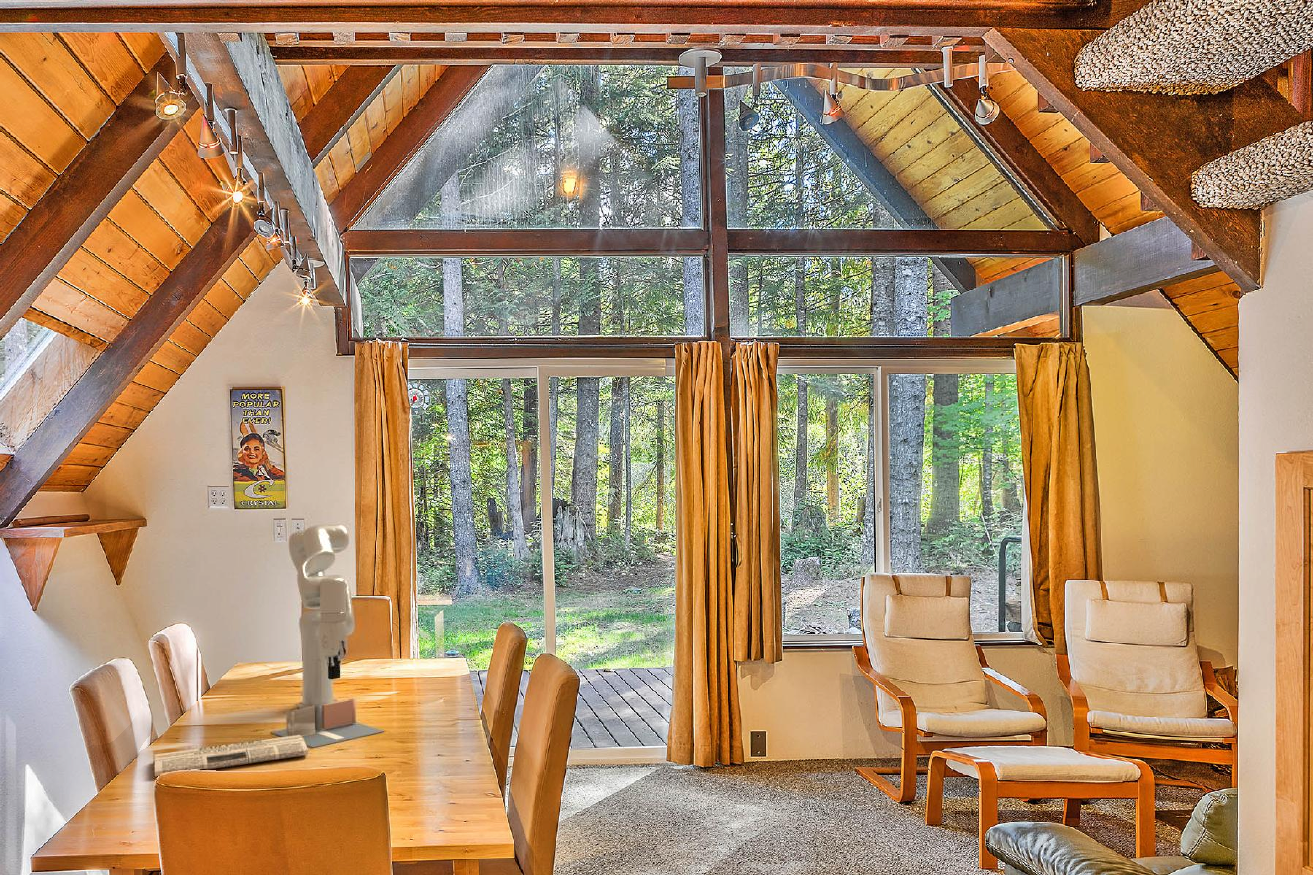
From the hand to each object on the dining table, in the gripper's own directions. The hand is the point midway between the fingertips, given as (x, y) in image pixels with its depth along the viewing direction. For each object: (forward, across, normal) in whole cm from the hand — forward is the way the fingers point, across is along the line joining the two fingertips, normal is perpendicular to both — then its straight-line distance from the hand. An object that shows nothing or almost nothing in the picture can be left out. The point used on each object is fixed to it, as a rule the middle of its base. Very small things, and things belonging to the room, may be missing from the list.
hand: (334, 678), depth 306 cm
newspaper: (+15, +13, -37) cm, 42 cm away
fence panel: (+13, +5, -2) cm, 14 cm away
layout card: (+14, +7, -6) cm, 17 cm away
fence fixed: (+14, +5, -13) cm, 20 cm away
